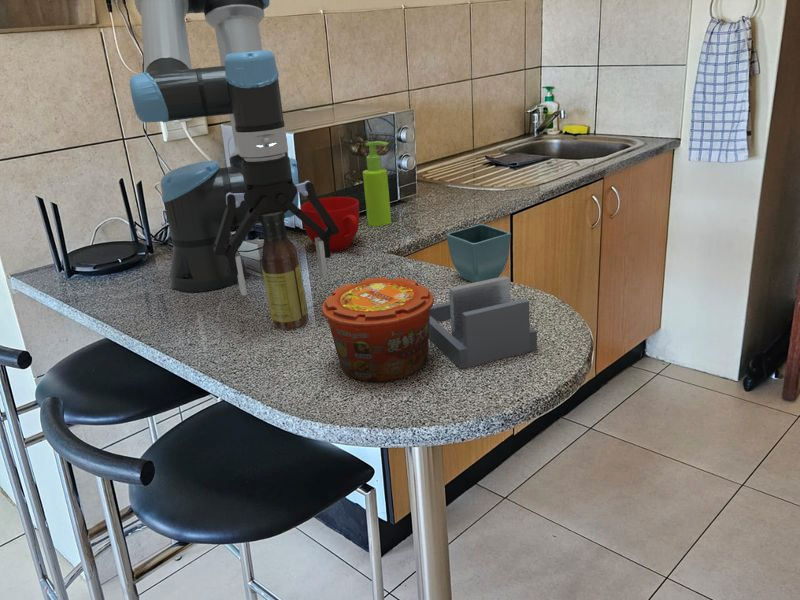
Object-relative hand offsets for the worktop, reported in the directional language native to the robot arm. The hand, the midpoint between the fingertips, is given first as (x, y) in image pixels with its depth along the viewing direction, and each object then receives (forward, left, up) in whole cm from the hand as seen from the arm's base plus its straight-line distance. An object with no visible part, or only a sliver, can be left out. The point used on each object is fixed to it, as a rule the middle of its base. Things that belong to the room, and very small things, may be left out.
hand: (284, 284), depth 115 cm
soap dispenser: (-50, +34, -7) cm, 61 cm away
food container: (+21, +9, -8) cm, 24 cm away
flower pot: (-2, +37, -8) cm, 38 cm away
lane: (+20, +25, -7) cm, 32 cm away
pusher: (+23, +25, -7) cm, 35 cm away
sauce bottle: (0, 0, -7) cm, 7 cm away
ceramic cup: (-36, +19, -7) cm, 41 cm away
